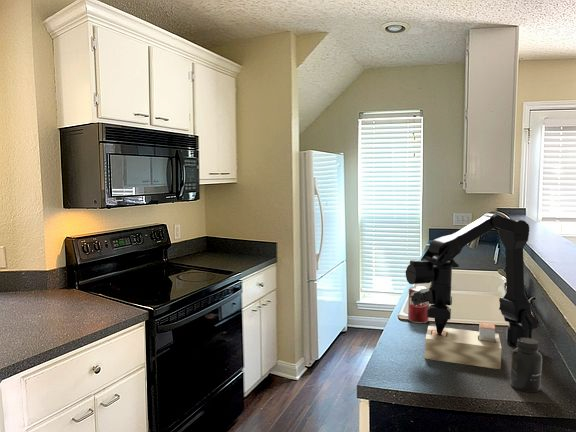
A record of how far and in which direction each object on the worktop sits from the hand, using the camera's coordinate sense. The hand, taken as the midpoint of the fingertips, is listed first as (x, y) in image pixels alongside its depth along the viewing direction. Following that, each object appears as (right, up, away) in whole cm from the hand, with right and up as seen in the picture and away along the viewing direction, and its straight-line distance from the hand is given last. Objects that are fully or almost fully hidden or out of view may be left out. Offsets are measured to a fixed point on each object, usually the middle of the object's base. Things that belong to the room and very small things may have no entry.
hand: (439, 333), depth 136 cm
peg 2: (+12, -2, -4) cm, 13 cm away
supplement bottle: (+15, -8, -21) cm, 27 cm away
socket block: (+6, -6, -2) cm, 9 cm away
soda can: (+2, -3, +31) cm, 31 cm away
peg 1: (0, -6, +1) cm, 6 cm away
